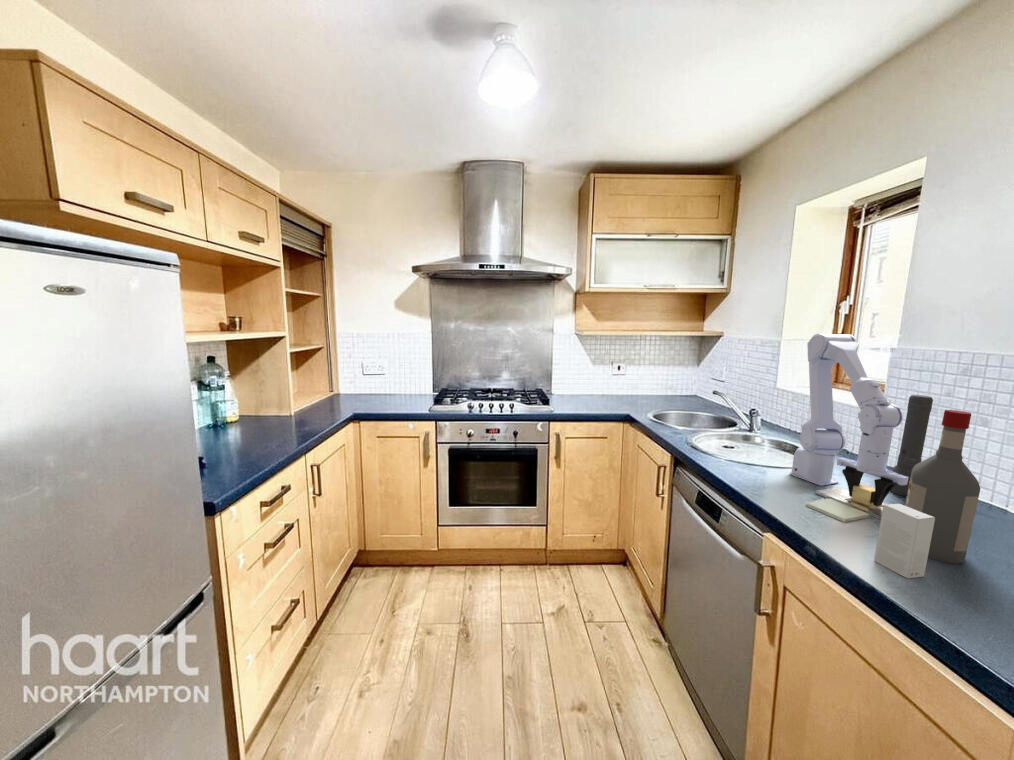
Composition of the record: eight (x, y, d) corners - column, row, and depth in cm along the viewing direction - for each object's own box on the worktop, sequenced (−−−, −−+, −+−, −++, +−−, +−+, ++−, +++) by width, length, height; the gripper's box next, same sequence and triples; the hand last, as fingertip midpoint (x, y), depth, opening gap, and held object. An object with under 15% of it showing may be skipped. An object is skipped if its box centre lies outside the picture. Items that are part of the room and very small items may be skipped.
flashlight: (882, 485, 120) (892, 494, 114) (899, 392, 116) (910, 396, 109) (914, 490, 117) (925, 499, 111) (932, 395, 113) (945, 399, 106)
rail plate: (815, 493, 112) (815, 490, 112) (838, 489, 116) (839, 486, 116) (894, 525, 96) (895, 521, 96) (919, 519, 99) (920, 516, 99)
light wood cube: (850, 503, 107) (853, 485, 106) (860, 501, 108) (863, 484, 108) (868, 510, 103) (871, 491, 102) (877, 508, 105) (881, 490, 104)
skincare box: (925, 577, 76) (937, 517, 74) (907, 579, 75) (919, 519, 73) (888, 558, 82) (899, 502, 80) (872, 560, 81) (882, 504, 79)
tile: (805, 505, 105) (806, 502, 105) (829, 501, 108) (829, 498, 108) (844, 522, 96) (844, 519, 96) (868, 517, 99) (868, 514, 99)
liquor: (957, 549, 86) (987, 412, 81) (965, 568, 79) (998, 419, 74) (898, 533, 92) (923, 404, 87) (900, 550, 85) (927, 411, 80)
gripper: (832, 443, 109) (825, 490, 111) (899, 461, 95) (889, 515, 97) (849, 441, 111) (842, 488, 113) (917, 459, 98) (907, 511, 100)
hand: (865, 500), depth 106 cm, fingers open, 5 cm apart
